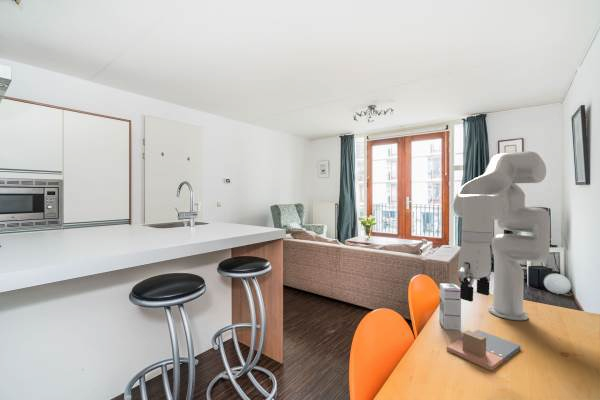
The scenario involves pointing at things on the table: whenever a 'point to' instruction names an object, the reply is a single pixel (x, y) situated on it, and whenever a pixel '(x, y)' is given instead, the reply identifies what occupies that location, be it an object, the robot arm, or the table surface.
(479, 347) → the pink slab with block
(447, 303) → the syrup box
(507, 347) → the grey dotted square slab
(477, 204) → the robot arm
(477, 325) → the table surface
